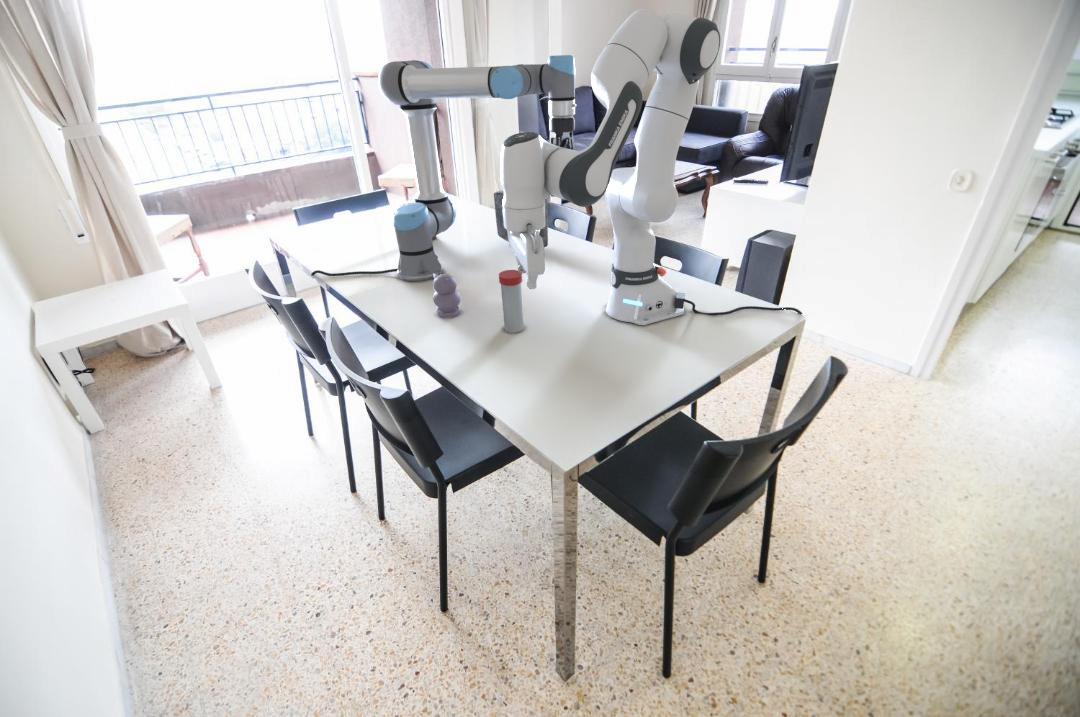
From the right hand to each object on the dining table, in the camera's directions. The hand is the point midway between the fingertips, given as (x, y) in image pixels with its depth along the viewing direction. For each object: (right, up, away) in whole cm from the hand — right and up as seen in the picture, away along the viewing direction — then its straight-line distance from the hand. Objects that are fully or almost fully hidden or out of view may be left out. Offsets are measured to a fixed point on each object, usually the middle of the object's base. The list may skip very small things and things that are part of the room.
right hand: (526, 279), depth 111 cm
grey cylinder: (-4, -9, +27) cm, 29 cm away
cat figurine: (-24, -4, +37) cm, 45 cm away
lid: (-5, +4, +19) cm, 20 cm away
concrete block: (-3, +26, +86) cm, 90 cm away
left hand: (+10, +35, +45) cm, 58 cm away
